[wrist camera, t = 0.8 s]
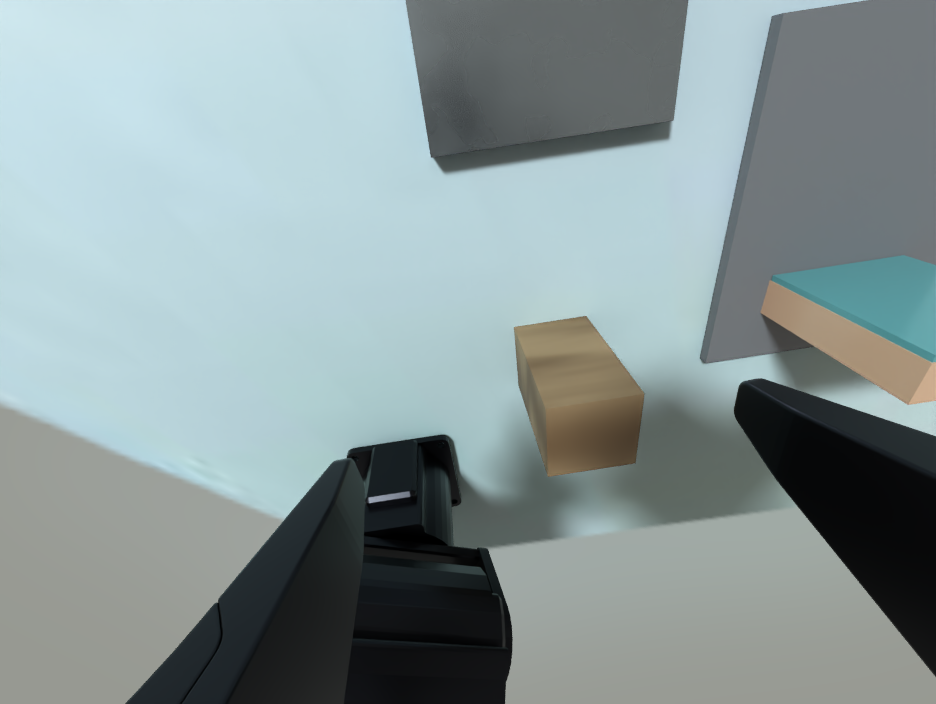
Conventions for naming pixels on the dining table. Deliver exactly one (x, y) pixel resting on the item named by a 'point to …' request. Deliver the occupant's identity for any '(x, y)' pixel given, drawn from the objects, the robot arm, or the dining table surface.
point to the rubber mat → (829, 160)
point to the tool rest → (543, 68)
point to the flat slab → (866, 319)
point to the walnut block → (577, 396)
